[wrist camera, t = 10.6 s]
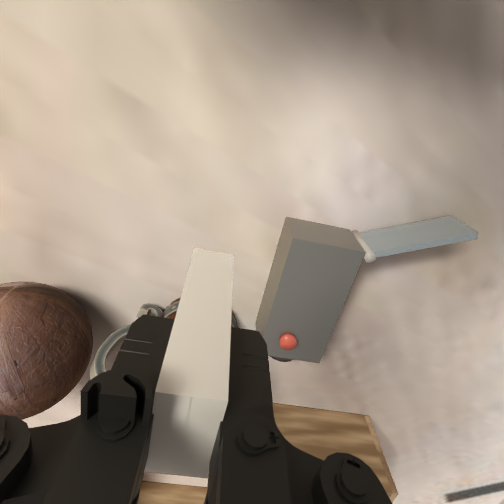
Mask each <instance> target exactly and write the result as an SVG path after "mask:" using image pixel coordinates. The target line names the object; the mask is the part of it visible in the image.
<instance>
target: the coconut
mask: <svg viewBox="0 0 504 504" xmlns="http://www.w3.org/2000/svg"><path fill="white" fill-rule="evenodd" d="M92 346H93V336H92V329H91V325H90V322H89V320H88V317H87V315H86V314H85V312H84V310H83V309H82V308H81V306H80V305H79V304H78V303H77V302H76V301H75V300H74V299H73V298H72V297H70V296H69V295H68V294H66V293H65V292H63V291H61V290H59V289H57V288H55V287H52V286H49V285H46V284H41V283H35V282H11V283H5V284H0V415H9V416H15V417H18V418H19V419H25V418H28V417H31V416H34V415H36V414H39V413H41V412H43V411H45V410H47V409H49V408H50V407H52V406H54V405H55V404H56V403H58V402H59V401H61V400H62V399H63V398H64V397H65V396H66V395H68V394H69V393H70V392H71V390H72V389H73V388H74V387H75V386H76V385H77V383H78V382H79V381H80V379H81V378H82V376H83V374H84V372H85V371H86V368H87V366H88V364H89V361H90V357H91V353H92Z"/></svg>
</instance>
